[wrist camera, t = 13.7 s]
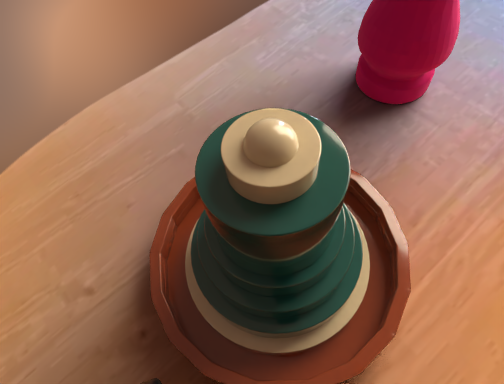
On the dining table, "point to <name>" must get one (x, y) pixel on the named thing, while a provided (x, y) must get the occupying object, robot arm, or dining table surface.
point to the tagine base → (301, 364)
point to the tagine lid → (276, 234)
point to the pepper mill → (404, 46)
